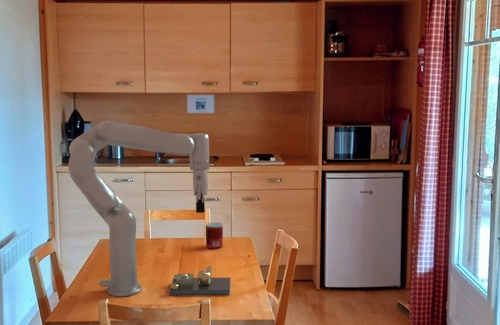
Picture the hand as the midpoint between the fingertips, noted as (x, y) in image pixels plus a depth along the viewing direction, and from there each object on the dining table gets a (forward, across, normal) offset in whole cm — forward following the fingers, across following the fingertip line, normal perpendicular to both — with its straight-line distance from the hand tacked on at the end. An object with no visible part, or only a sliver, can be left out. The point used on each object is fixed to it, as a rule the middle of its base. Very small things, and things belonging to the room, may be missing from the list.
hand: (200, 212), depth 220 cm
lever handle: (+25, -7, -2) cm, 26 cm away
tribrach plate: (+27, -11, 0) cm, 29 cm away
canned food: (+27, +43, -3) cm, 51 cm away
